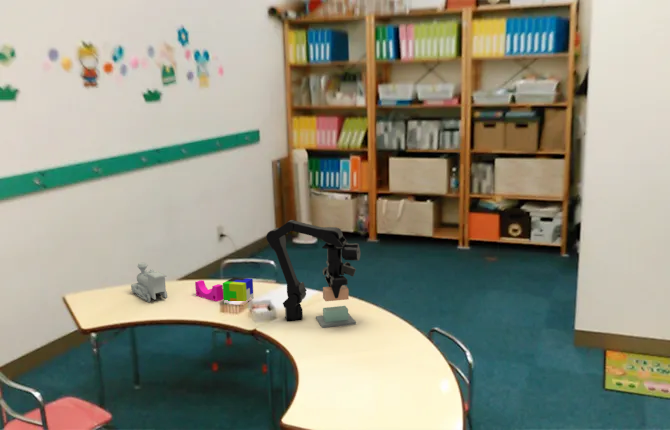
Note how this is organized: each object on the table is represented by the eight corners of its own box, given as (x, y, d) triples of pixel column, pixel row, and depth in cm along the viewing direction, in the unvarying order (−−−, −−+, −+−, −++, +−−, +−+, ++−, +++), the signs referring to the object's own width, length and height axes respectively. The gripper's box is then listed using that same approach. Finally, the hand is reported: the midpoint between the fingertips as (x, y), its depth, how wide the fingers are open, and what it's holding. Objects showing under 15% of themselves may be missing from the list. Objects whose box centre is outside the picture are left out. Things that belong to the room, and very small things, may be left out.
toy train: (150, 288, 313) (148, 259, 310) (174, 301, 291) (171, 269, 289) (128, 293, 306) (126, 263, 303) (151, 306, 285) (148, 274, 282)
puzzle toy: (253, 299, 290) (252, 278, 289) (243, 306, 281) (242, 284, 279) (234, 297, 294) (233, 277, 292) (223, 304, 284) (222, 283, 283)
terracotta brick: (325, 301, 253) (325, 290, 252) (323, 297, 258) (322, 287, 257) (348, 299, 255) (348, 288, 254) (345, 295, 260) (345, 285, 259)
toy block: (227, 299, 292) (226, 283, 291) (217, 302, 288) (216, 287, 286) (206, 293, 302) (205, 278, 300) (196, 297, 297) (195, 281, 295)
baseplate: (322, 328, 251) (322, 325, 251) (315, 318, 262) (315, 316, 262) (355, 324, 254) (355, 321, 254) (348, 314, 266) (348, 312, 266)
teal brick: (325, 322, 255) (325, 311, 254) (322, 318, 259) (322, 307, 259) (348, 319, 257) (348, 309, 256) (345, 315, 262) (345, 305, 261)
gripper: (359, 263, 246) (360, 301, 249) (347, 252, 264) (348, 288, 267) (332, 265, 244) (332, 303, 247) (322, 254, 262) (322, 290, 264)
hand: (335, 296), depth 256 cm, fingers closed on terracotta brick, 5 cm apart
